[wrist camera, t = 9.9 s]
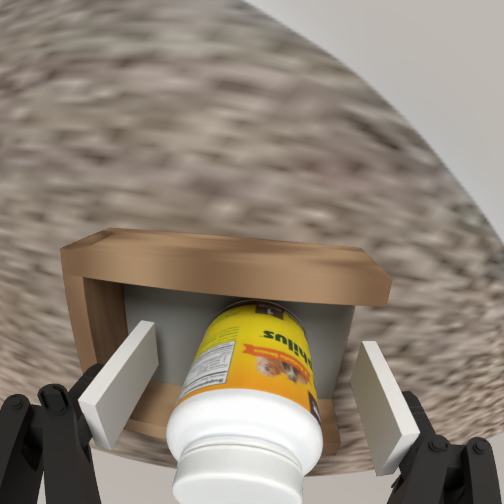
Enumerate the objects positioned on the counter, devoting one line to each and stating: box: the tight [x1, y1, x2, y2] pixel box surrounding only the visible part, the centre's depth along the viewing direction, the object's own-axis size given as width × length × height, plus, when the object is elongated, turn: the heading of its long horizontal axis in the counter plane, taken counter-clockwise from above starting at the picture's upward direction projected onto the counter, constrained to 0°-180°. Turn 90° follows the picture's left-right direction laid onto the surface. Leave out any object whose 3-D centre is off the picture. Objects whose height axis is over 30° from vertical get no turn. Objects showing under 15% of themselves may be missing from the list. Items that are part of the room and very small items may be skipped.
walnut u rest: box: [60, 228, 392, 455], centre depth 15 cm, size 14×11×5 cm
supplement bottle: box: [166, 299, 323, 504], centre depth 11 cm, size 6×6×10 cm
